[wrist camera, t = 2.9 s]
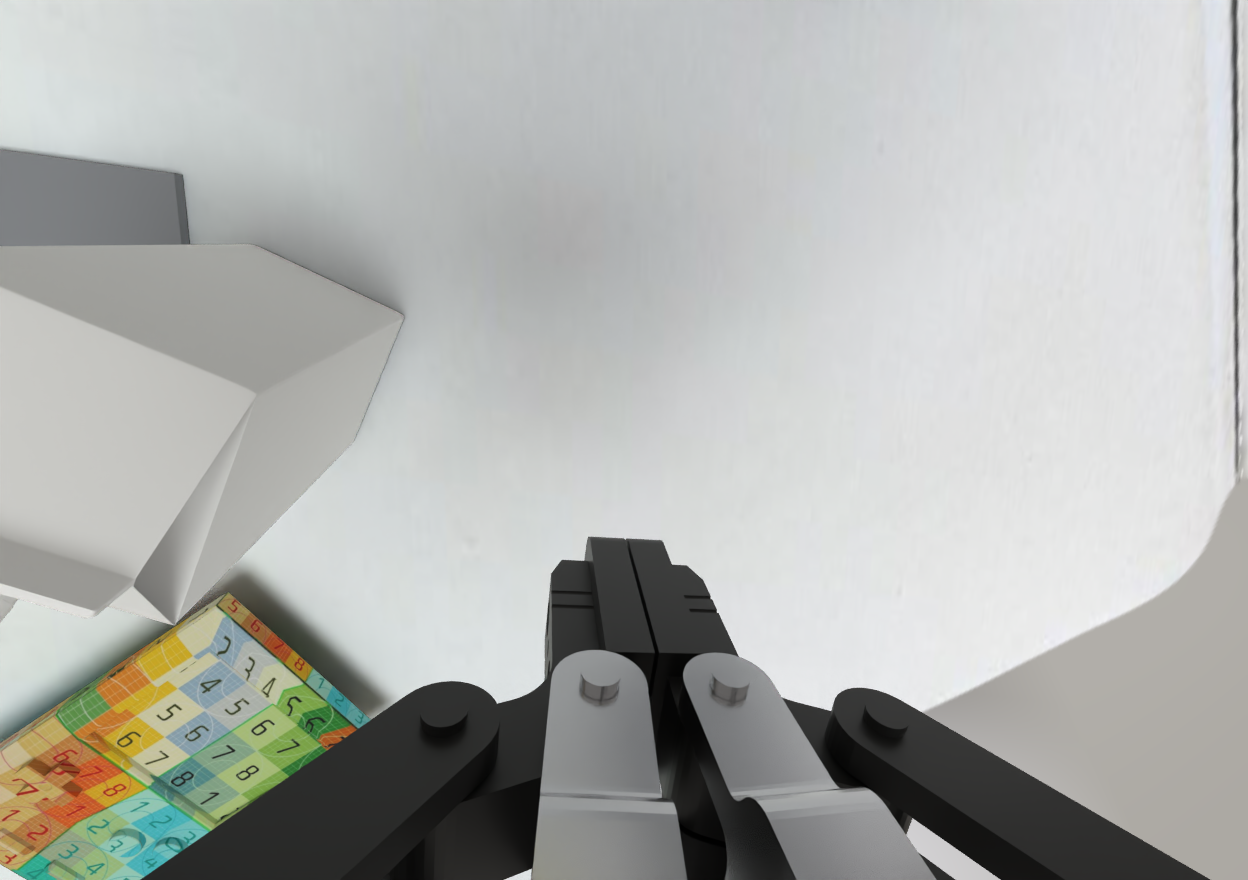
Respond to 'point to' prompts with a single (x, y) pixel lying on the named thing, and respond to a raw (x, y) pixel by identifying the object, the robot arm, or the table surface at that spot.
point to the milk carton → (166, 414)
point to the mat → (87, 203)
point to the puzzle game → (163, 749)
